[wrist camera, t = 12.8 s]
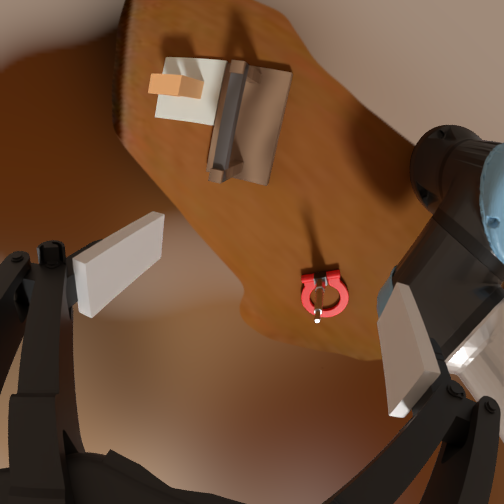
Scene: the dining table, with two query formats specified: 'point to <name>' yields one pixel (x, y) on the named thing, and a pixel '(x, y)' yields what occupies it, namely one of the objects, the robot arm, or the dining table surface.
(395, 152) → the dining table surface
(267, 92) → the stand
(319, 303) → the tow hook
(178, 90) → the c-link
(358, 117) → the dining table surface
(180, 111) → the rubber mat
